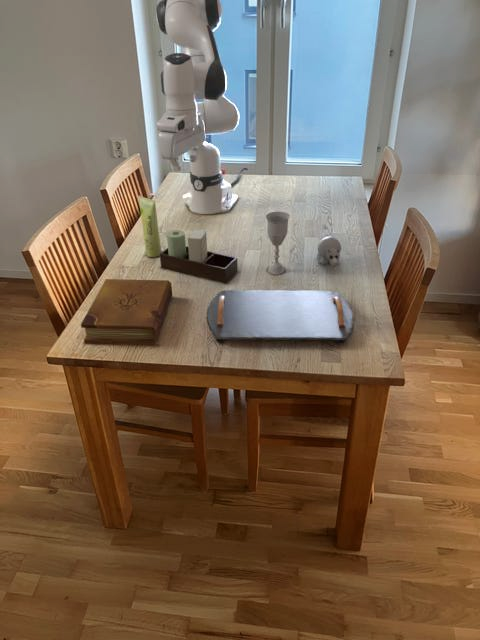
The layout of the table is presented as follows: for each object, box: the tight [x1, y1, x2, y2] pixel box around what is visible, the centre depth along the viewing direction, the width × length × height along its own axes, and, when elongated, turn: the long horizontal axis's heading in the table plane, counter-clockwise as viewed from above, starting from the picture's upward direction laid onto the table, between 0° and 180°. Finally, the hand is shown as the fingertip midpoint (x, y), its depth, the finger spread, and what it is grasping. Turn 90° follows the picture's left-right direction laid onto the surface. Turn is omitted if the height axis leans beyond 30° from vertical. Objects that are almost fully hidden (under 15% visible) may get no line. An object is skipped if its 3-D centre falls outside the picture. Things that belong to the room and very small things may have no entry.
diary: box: [80, 278, 173, 346], centre depth 140 cm, size 23×19×6 cm
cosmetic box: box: [187, 229, 208, 263], centre depth 160 cm, size 6×4×12 cm
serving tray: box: [205, 289, 355, 345], centre depth 138 cm, size 39×23×6 cm, turn 89°
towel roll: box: [166, 229, 187, 258], centre depth 163 cm, size 6×6×11 cm
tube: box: [138, 195, 162, 258], centre depth 167 cm, size 6×5×20 cm
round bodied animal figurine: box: [316, 236, 342, 268], centre depth 163 cm, size 7×12×8 cm, turn 3°
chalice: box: [265, 211, 291, 275], centre depth 158 cm, size 7×7×18 cm
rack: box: [159, 245, 238, 285], centre depth 162 cm, size 8×23×5 cm, turn 64°
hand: (185, 166), depth 157 cm, fingers open, 8 cm apart
